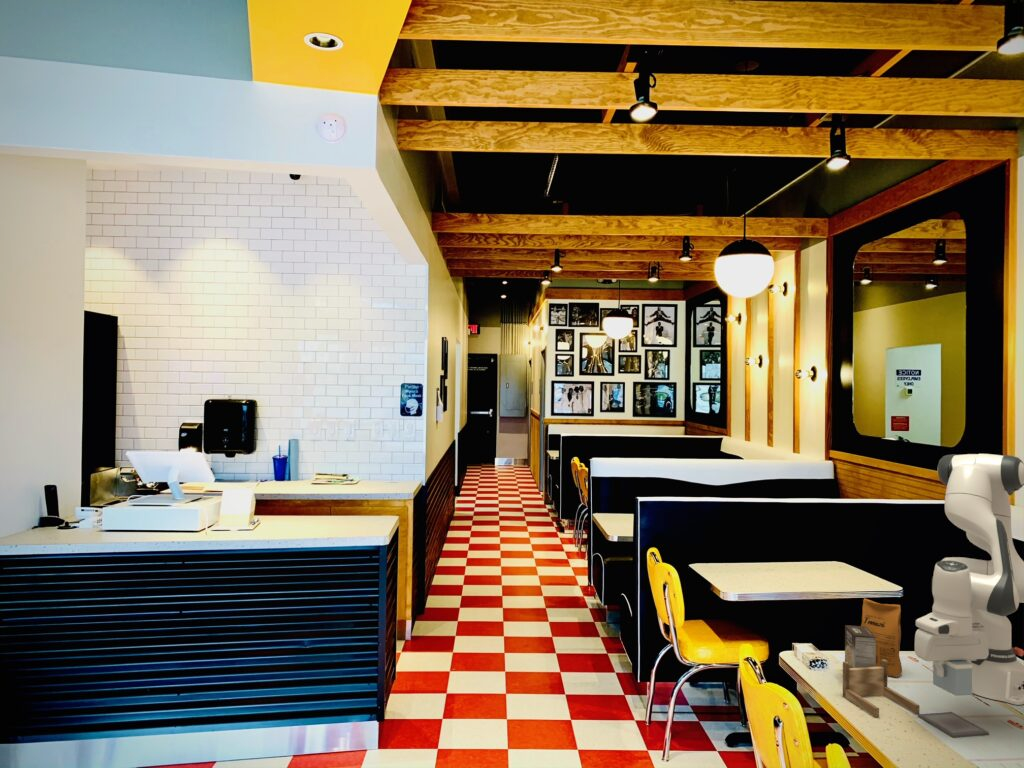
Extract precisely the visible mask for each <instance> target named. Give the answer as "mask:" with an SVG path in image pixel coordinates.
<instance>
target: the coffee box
mask: <svg viewBox="0 0 1024 768" xmlns="http://www.w3.org/2000/svg"><path fill="white" fill-rule="evenodd" d="M844 662H848V663H849V668H863V667H876V637H875V636H874V635H873V634H872V632H871V631H870V630H869V629H868V628H867V627H863V626H861V625H849V624H847V625H844Z"/></svg>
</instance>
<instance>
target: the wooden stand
mask: <svg viewBox="0 0 1024 768" xmlns="http://www.w3.org/2000/svg"><path fill="white" fill-rule="evenodd" d="M882 696H883V697H885V698H886V699H888V700H890V701H892V702H894V703H896V704H897V705H898V706H900V707H902V708H904V709H905V710H907V711H909V712H910V713H912V714H913V715H915V716H916V715H917V716H918V714H920V705H919V704H918V703H916V702H915V701H914V700H913V701H912V700H911V699H909V698H907V697H906V696H904V695H902V694H901V693H899V692H897V691H895V690H894V689H892V688H890V687H889V686H888V676H887V661H886V660H884V659H883V660H881V666H880V667H863V668H849V663H848V662H845V661H843V662H842V697H843V698H845V699H846V700H848V701H849V702H851V703H853V704H854V705H855V706H857V707H858V708H860V709H861V710H863V711H864V712H865V713H867V714H869V715H870V716H872V717H873V718H875V719H877V718H880V707H878V706H876V705H875V704H873V703H872V702H870V701H868V700H867V699H866V698H870V697H882Z"/></svg>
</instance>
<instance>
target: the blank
mask: <svg viewBox="0 0 1024 768" xmlns="http://www.w3.org/2000/svg"><path fill="white" fill-rule="evenodd" d="M942 666H943V668H944V670H947V677H940V676H938V675H937V668H936V667H935V665H934V663H933V662H932V685H934V686H936V687H937V688H940V689H942V690H944V691H946V692H947V693H949V694H952V695H953V696H955V697H959V696H972V695H973V693H972V664H971V663H969V662H966V661H964V660H947V661H944V664H942Z"/></svg>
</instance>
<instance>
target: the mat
mask: <svg viewBox="0 0 1024 768" xmlns="http://www.w3.org/2000/svg"><path fill="white" fill-rule="evenodd" d="M917 717H918V718H920V719H922V720H923V721H924V722H926V723H928V724H929V725H930V726H933V727H934V728H935V729H936V728H937V729H938V730H939V731H941V732H943V733H945V734H946V735H948V736H950V737H951V738H953V739H955V738H966V737H968V738H969V737H977V736H978V737H981V736H988V735H990V732H989V731H988V730H986V729H984V728H983V727H980V726H978V725H976V724H975V723H973V722H971V721H969V720H968V719H966V718H964V717H962V716H960V715H958V714H956V713H955V712H952V711H945V712H943V711H942V712H931V713H919V714H918V715H917Z"/></svg>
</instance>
